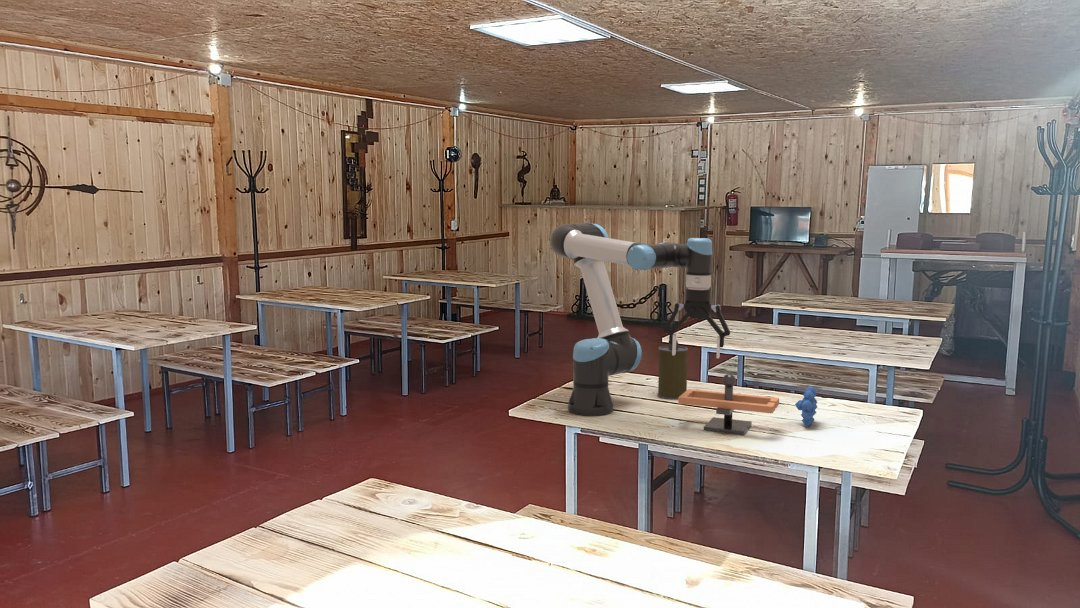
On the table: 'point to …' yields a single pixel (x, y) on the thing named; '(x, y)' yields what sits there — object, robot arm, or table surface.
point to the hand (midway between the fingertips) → (695, 356)
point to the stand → (728, 414)
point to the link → (738, 402)
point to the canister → (672, 371)
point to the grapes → (808, 406)
